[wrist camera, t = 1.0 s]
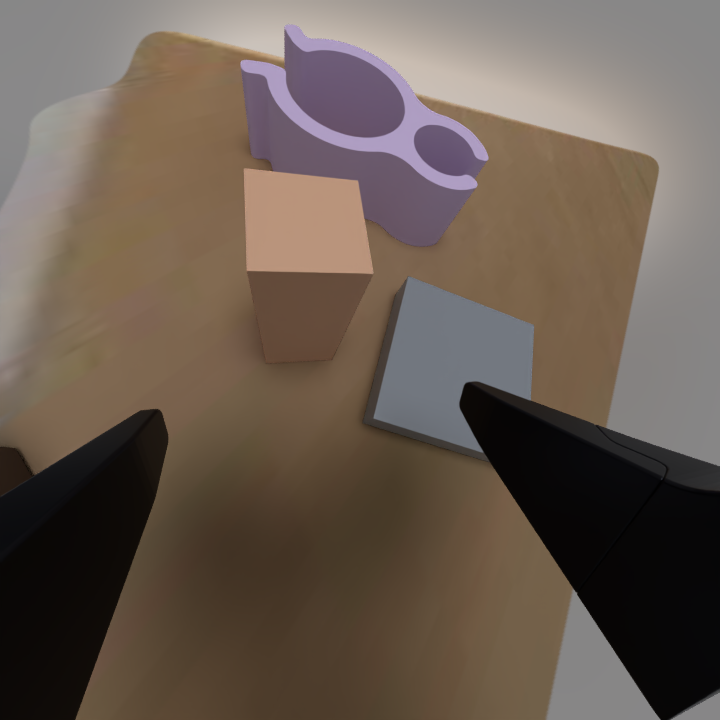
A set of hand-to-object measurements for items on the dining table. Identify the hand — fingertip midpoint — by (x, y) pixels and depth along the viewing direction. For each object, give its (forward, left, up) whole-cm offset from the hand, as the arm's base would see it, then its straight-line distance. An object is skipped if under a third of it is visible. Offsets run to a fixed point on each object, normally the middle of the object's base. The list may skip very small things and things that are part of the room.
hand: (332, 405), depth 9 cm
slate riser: (+11, -7, -13) cm, 18 cm away
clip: (+23, +11, -14) cm, 29 cm away
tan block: (+6, +5, -13) cm, 16 cm away
